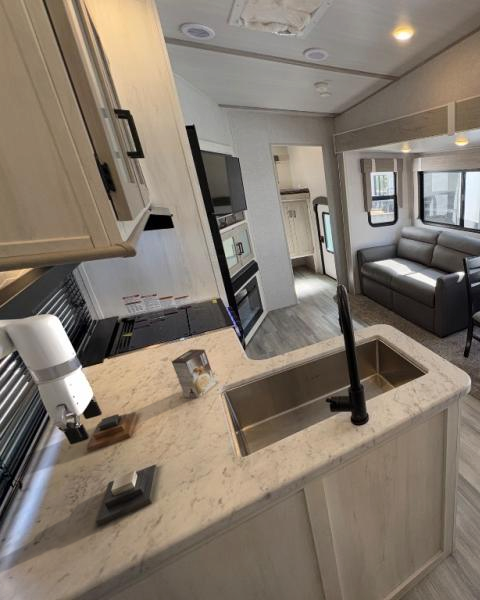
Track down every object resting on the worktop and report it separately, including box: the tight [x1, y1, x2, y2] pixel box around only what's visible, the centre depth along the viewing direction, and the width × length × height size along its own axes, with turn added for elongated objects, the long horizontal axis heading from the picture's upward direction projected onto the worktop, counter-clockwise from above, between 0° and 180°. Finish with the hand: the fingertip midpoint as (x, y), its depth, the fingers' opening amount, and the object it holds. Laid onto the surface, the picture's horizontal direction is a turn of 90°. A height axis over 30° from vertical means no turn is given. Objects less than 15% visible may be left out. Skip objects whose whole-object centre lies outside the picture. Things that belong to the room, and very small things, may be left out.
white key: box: [111, 470, 138, 496], centre depth 76 cm, size 4×4×2 cm
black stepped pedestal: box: [95, 463, 159, 527], centre depth 77 cm, size 10×12×4 cm
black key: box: [99, 413, 120, 431], centre depth 98 cm, size 4×4×2 cm
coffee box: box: [171, 348, 217, 398], centre depth 116 cm, size 9×6×16 cm
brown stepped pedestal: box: [86, 411, 138, 453], centre depth 99 cm, size 10×12×4 cm
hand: (87, 428), depth 75 cm, fingers open, 9 cm apart
